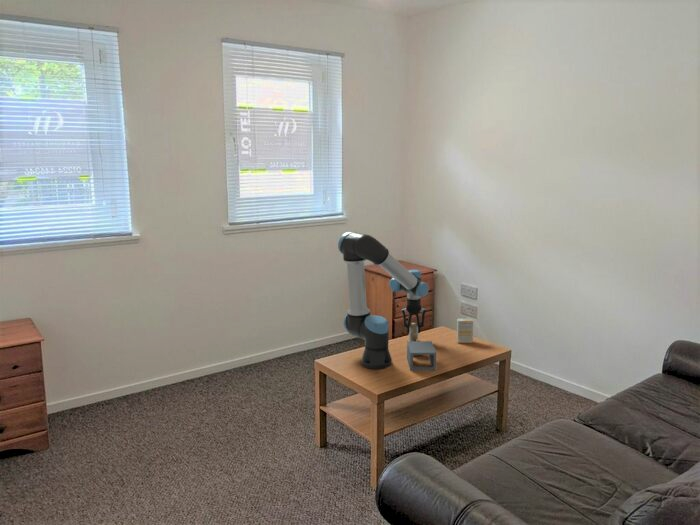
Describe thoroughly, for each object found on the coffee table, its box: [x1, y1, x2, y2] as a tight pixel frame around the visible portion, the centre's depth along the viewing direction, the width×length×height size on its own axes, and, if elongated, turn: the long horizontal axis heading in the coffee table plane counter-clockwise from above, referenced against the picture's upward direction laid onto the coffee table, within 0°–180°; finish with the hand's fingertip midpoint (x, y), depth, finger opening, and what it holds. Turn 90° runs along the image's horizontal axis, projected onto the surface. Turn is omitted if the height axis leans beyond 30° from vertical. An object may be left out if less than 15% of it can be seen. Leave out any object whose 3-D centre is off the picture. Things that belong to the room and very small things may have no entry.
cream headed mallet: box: [410, 322, 425, 357], centre depth 295 cm, size 6×25×10 cm, turn 179°
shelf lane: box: [406, 340, 437, 372], centre depth 272 cm, size 12×16×9 cm
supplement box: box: [456, 317, 474, 344], centre depth 302 cm, size 8×5×13 cm, turn 84°
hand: (413, 338), depth 306 cm, fingers closed on cream headed mallet, 3 cm apart
